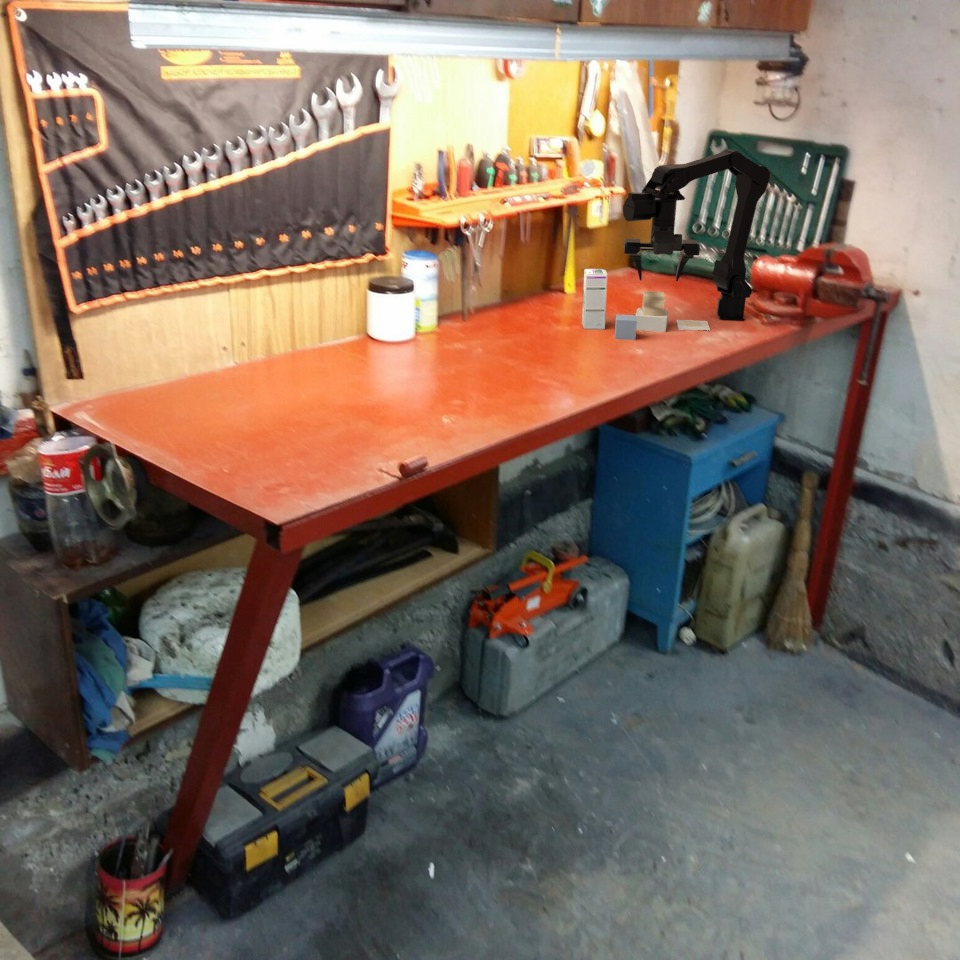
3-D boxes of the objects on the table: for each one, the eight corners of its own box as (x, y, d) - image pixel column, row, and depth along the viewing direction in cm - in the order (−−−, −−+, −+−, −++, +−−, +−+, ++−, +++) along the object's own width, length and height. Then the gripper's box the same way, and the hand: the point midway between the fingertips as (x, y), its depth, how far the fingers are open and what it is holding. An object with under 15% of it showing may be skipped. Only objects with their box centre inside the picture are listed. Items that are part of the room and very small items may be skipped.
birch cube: (661, 310, 257) (663, 292, 255) (662, 316, 252) (664, 296, 250) (642, 310, 257) (643, 291, 255) (643, 315, 252) (644, 296, 250)
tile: (706, 322, 260) (706, 320, 260) (710, 331, 253) (710, 328, 253) (676, 321, 261) (676, 318, 261) (678, 329, 254) (678, 327, 254)
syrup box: (605, 329, 253) (609, 273, 247) (582, 329, 253) (585, 273, 247) (603, 323, 258) (606, 268, 252) (580, 323, 258) (583, 268, 252)
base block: (667, 324, 259) (668, 309, 258) (665, 333, 252) (666, 318, 250) (636, 322, 261) (637, 307, 259) (633, 330, 254) (635, 315, 252)
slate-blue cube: (634, 334, 250) (636, 315, 248) (635, 340, 246) (636, 320, 243) (614, 333, 250) (616, 314, 248) (615, 339, 246) (616, 320, 244)
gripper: (627, 224, 239) (623, 287, 246) (705, 225, 238) (698, 289, 245) (625, 215, 249) (621, 276, 256) (700, 217, 248) (694, 278, 255)
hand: (658, 280), depth 253 cm, fingers open, 9 cm apart
